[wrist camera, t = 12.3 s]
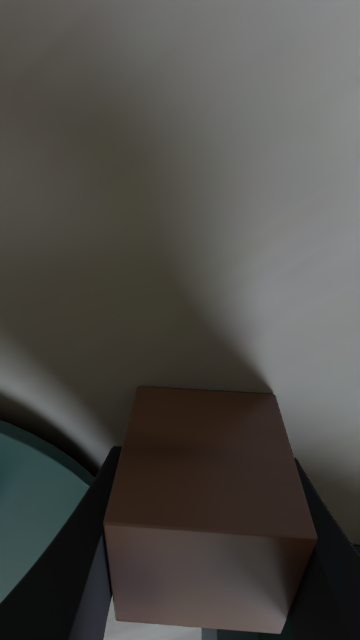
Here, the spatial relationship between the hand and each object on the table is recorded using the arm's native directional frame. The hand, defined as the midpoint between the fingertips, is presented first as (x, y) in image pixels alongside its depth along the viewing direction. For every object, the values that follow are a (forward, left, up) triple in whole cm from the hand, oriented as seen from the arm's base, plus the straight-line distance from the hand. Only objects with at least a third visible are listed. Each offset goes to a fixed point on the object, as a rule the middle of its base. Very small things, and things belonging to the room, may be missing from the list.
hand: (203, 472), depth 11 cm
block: (0, 0, -1) cm, 1 cm away
